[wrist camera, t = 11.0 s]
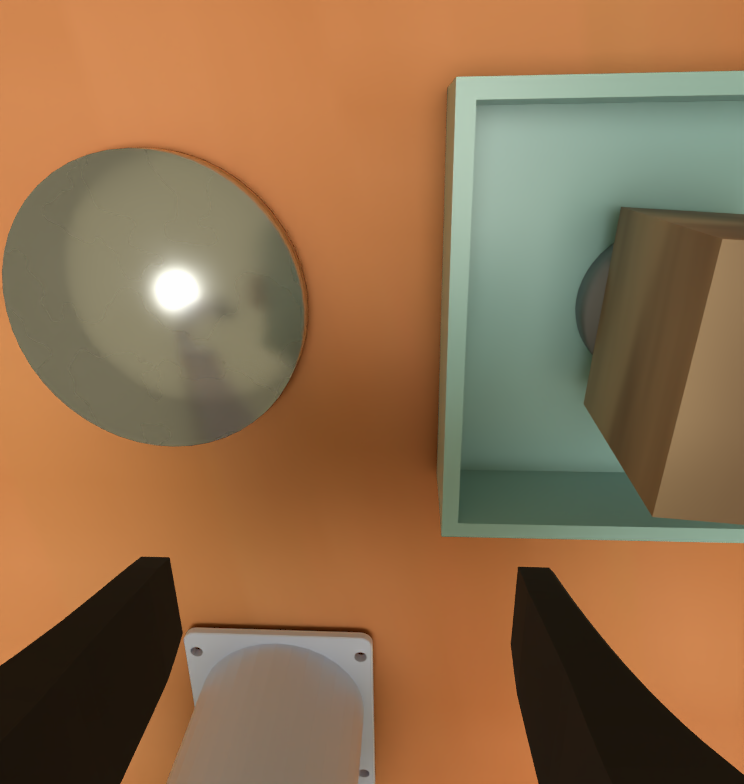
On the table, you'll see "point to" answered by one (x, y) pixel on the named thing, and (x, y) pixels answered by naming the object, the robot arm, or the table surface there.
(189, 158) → the steel base plate
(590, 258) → the teal bin
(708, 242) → the brown wooden block
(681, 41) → the table surface
